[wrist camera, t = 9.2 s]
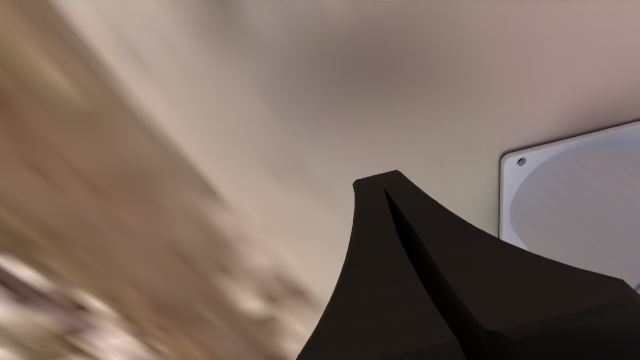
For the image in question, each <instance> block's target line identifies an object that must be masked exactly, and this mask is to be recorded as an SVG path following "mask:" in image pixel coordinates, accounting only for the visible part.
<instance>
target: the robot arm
mask: <svg viewBox="0 0 640 360" xmlns="http://www.w3.org/2000/svg"><path fill="white" fill-rule="evenodd" d="M520 158H522V160H521V161H520V162H517V161H518V160H519V159H520ZM353 189H354V193H355V208H354V218H353V226H352V232H351V237H350V241H349V246H348V250H347V254H346V258H345V261H344V264H343V267H342V271H341V273H340V276H339V279H338V281H337V284H336V287H335V289H334V292H333V294H332V296H331V298H330V301H329V303H328V305H327V307H326V309H325V311H324V313H323V315H322V317H321V318H320V320H319V322H318V324H317V326H316V328H315V330H314V331H313V333H312V335H311V336H310V338H309V339H308V341H307V343H306V344H305V346H304V347H303V349H302V350H301V352H300V354H299V355H298V357H297V358H296V360H640V121H638V122H633V123H629V124H625V125H621V126H617V127H613V128H609V129H605V130H601V131H597V132H593V133H589V134H585V135H581V136H577V137H573V138H569V139H565V140H561V141H557V142H553V143H549V144H545V145H541V146H537V147H533V148H529V149H525V150H521V151H517V152H513V153H509V154H507V155H505V156H504V157H503V158H502V160H501V176H500V235H499V238H497V237H495V236H493V235H491V234H489V233H487V232H485V231H483V230H481V229H479V228H477V227H475V226H474V225H472V224H470V223H469V222H467V221H465V220H464V219H462V218H460V217H459V216H457V215H456V214H454V213H453V212H451V211H450V210H448V209H447V208H445V207H444V206H442V205H441V204H440V203H438V202H437V201H436V200H434V199H433V198H431V197H430V196H429V195H427V194H426V193H425V192H424V191H422V190H421V189H420V188H419V187H417V186H416V185H415V184H414V183H413V182H411V181H410V180H409V179H408V178H407V177H406V176H405V175H403V174H402V173H401V172H400V171H398V170H394V171H390V172H386V173H382V174H378V175H374V176H370V177H366V178H362V179H358V180H355V182H354V183H353Z"/></svg>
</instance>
